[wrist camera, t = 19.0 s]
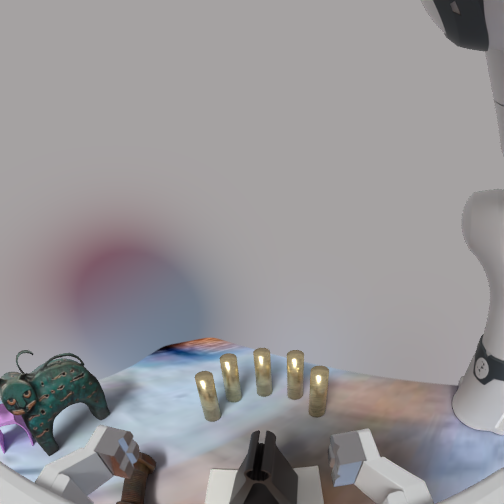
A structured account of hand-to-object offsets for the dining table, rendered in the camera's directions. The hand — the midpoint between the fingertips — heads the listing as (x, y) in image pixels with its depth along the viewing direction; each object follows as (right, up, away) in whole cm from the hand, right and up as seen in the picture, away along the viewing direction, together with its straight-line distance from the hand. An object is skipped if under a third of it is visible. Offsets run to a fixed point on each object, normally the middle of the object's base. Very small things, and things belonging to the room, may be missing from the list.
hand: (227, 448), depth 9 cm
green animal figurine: (-33, -27, +28) cm, 51 cm away
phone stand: (+3, -26, +19) cm, 32 cm away
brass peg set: (+3, -21, +40) cm, 45 cm away
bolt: (-15, -29, +17) cm, 36 cm away
